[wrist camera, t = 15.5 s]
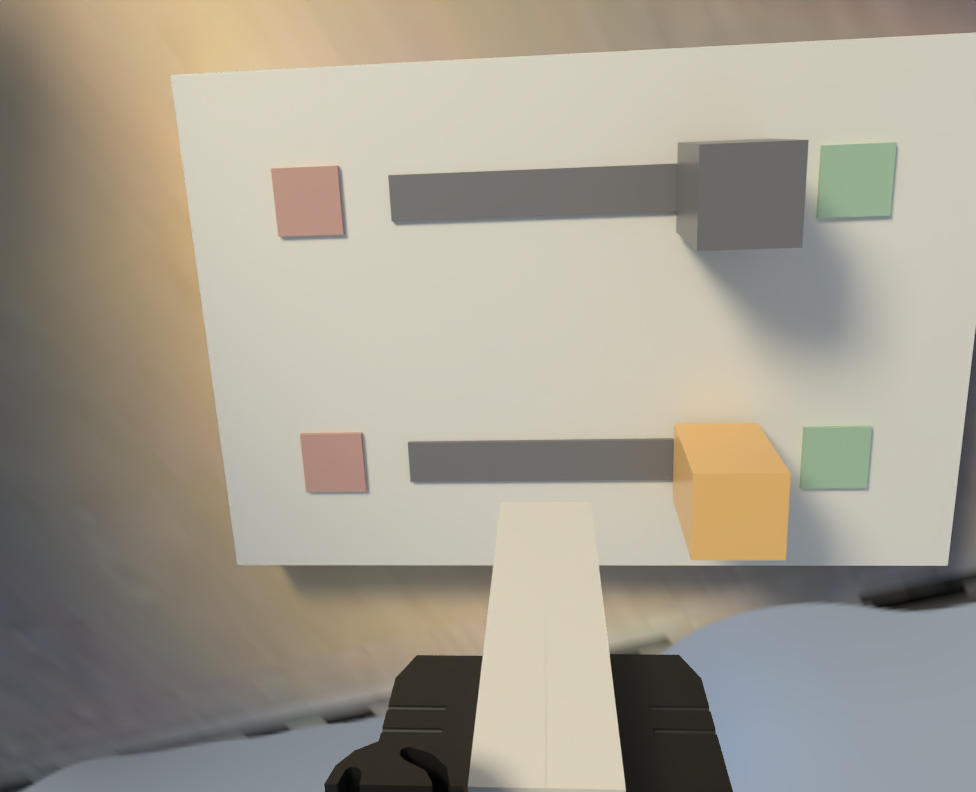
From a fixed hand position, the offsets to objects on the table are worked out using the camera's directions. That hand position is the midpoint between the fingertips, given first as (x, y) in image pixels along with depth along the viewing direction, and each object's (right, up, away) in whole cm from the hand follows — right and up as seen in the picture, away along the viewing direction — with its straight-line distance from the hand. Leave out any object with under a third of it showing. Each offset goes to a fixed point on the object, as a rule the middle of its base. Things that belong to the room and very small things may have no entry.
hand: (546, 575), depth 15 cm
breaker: (+7, +10, +15) cm, 20 cm away
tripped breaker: (+7, +1, +18) cm, 19 cm away
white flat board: (+2, +6, +20) cm, 21 cm away
